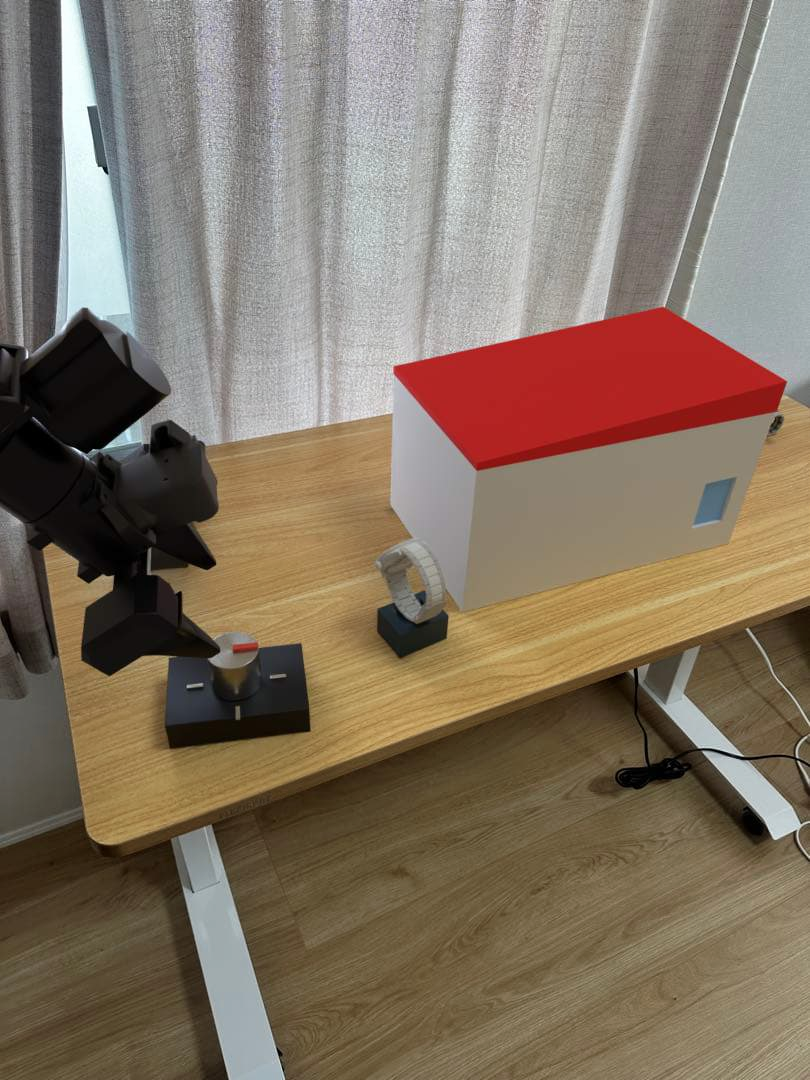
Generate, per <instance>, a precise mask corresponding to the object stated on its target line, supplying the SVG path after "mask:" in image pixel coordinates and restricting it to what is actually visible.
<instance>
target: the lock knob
mask: <svg viewBox="0 0 810 1080" xmlns="http://www.w3.org/2000/svg"><path fill="white" fill-rule="evenodd" d="M212 639H213V640H214V641H215V642H216V643H217V644H218V645H219V647H220V650H221V652H220V653H219V654H217V655H216V656H214V657H212V658H207V662H208V668H209V674H210V680H211V687H212V690H213V692H214V693H215V694H216V695H217V696H218V697H220V698H222V699H225V700H230V701H236V700H242V699H245V698H248V697H250V696H252V695H253V694H254V693H256V692H257V691H258V689H259V688H260V686H261V684H262V672H261V663H260V654H259V648H260V646H259V642H258V640H256V638H255V637H253V635H251V634H249V633H246V632H243V631H229V632H224V633H222V634H219V635H218V636H216V637H215V638H212Z"/></svg>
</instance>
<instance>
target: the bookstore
mask: <svg viewBox="0 0 810 1080" xmlns="http://www.w3.org/2000/svg"><path fill="white" fill-rule="evenodd" d="M392 370H393V371H392V373H393V392H392V393H393V394H392V428H391V429H392V431H391V460H390V461H391V463H390V464H391V467H390V499H389V500H390V502H389V503H390V504H389V505H390V506H391V508H392V509H393V511H394V512H395V514H396V515H397V517H398V519H399V520H400V521H401V523H402V525H403V526H404V527H405V529H406V531H407V532H408V534H409V536H411V539H413V538H421V539H422V541H425V542H426V543H427V546H428V547H429V548H430V549H431V550H432V552H433V553H434V555H435V556H436V558H437V560H438V562H439V564H440V566H441V569H440V570H442V572H443V576H444V580H445V585H446V592H448V594H449V595H450V596H451V598H452V599H453V601H454V603H455V604H456V605H457V607H458V608H459V610H460V612H461V613H465V612H469V611H474V610H476V609H481V608H485V607H488V606H492V605H495V604H496V605H497V604H501V603H504V602H508V601H512V600H516V599H519V598H523V597H528V596H530V595H535V594H539V593H543V592H547V591H550V590H555V589H558V588H563V587H566V586H570V585H574V584H577V583H581V582H586V581H589V580H593V579H596V578H601V577H604V576H609V575H613V574H617V573H620V572H625V571H628V570H632V569H635V568H640V567H644V566H648V565H651V564H656V563H660V562H663V561H668V560H672V559H674V558H678V557H682V556H687V555H690V554H694V553H697V552H702V551H706V550H710V549H713V548H717V547H721V546H725V545H728V544H730V541H731V538H732V536H733V533H734V530H735V528H736V524H737V523H738V519H739V516H740V514H741V510H742V508H743V504H744V502H745V500H746V496H747V493H748V491H749V488H750V485H751V482H752V479H753V476H754V474H755V471H756V468H757V465H758V462H759V460H760V457H761V453H762V451H763V448H764V445H765V443H766V441H767V437H768V436H767V434H768V431H769V429H770V426H771V423H773V421H774V419H773V417H774V414H775V412H777V410H778V409H779V406H780V403H781V401H782V398H783V395H784V392H785V389H786V387H787V384H788V381H787V380H786V379H784V378H783V377H781V376H779V375H778V374H776V373H774V372H773V371H771V370H769V369H768V368H766V367H764V366H763V365H761V364H760V363H758V362H756V361H754V360H753V359H751V358H749V357H748V356H746V355H744V354H743V353H741V352H740V351H738V350H736V349H734V348H733V347H731V346H730V345H728V344H727V343H725V342H723V341H721V340H720V339H718V338H716V337H714V336H713V335H711V334H710V333H708V332H706V330H705V331H704V330H703V329H701V328H700V327H698V326H696V325H695V324H693V323H691V322H689V321H688V320H686V319H684V318H683V317H681V316H680V315H678V314H676V313H675V312H673V311H672V310H670V309H668V308H667V307H665V306H660V307H656V308H652V309H646V310H642V311H637V312H634V313H628V314H624V315H619V316H615V317H610V318H606V319H600V320H597V321H593V322H592V321H591V322H588V323H584V324H578V325H573V326H569V327H565V328H561V329H557V330H556V329H555V330H552V331H547V332H542V333H538V334H534V335H528V336H524V337H520V338H516V339H515V338H514V339H511V340H506V341H502V342H497V343H492V344H488V345H484V346H479V347H475V348H474V347H473V348H470V349H466V350H465V349H464V350H461V351H457V352H452V353H446V354H443V355H440V356H434V357H430V358H426V359H421V360H420V359H419V360H415V361H412V362H407V363H402V364H398V365H394V366H393V369H392ZM432 566H433V565H432Z"/></svg>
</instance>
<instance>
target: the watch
mask: <svg viewBox="0 0 810 1080" xmlns="http://www.w3.org/2000/svg"><path fill="white" fill-rule="evenodd" d="M432 565H433V566H432ZM412 566H414V568H415V569H416V572H417V573H418V575H419V577H420V580H421V581H422V582H421V583H422V585H423V586H424V590H421V591H419V592H416V593H414V592H413V589H412V587H411V584H410V581H409V577H408V573H407V570H410V569H411V568H412ZM374 567H375V569H376V570H377V571H379V572H380V576H381V577H382V579H384V581H385V585H386V587H387V590H388V593H389V595H390V597H391V600H392V602H391V603H388V604H386V605H383V606H380V607H378V608H377V610H376V611H377V613H376V615H377V616H376V632H377V633H378V635H379V636H380V637H381V639H383V641H384V642H385V643H386V645H388V647H389V648H390V649H391V650H392V651H393V653H394V654H395V655H396V656H397V658H398V659H402V658H405V657H407V656H410V655H412V654H414V653H416V652H419V651H421V650H423V649H425V648H428V647H430V646H433V645H435V644H438V643H440V642H442V641H444V640H446V639H447V638H448V630H449V629H448V628H449V618H450V617H449V616H450V615H449V614H448V613H447V612H446V611H445V610H444V609H445V607H446V604H447V600H448V599H446V598H447V589H446V585H445V580H444V576H443V572H442V570H440V569H441V566H440V564H439V562H438V560H437V558H436V556H435V555H434V553H433V552H432V550H431V549H430V548H429V547H428V546H427V543H426V542H425V541H422V539H421V538H408V539H405V540H403V541H401V542H399V543H396V544H394V545H393V546H391V547H389V548H387V549H386V550H385V551H384V552H382V553H381V554H380V555H379V556H378V557H377V558H376V560H375V562H374Z"/></svg>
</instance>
